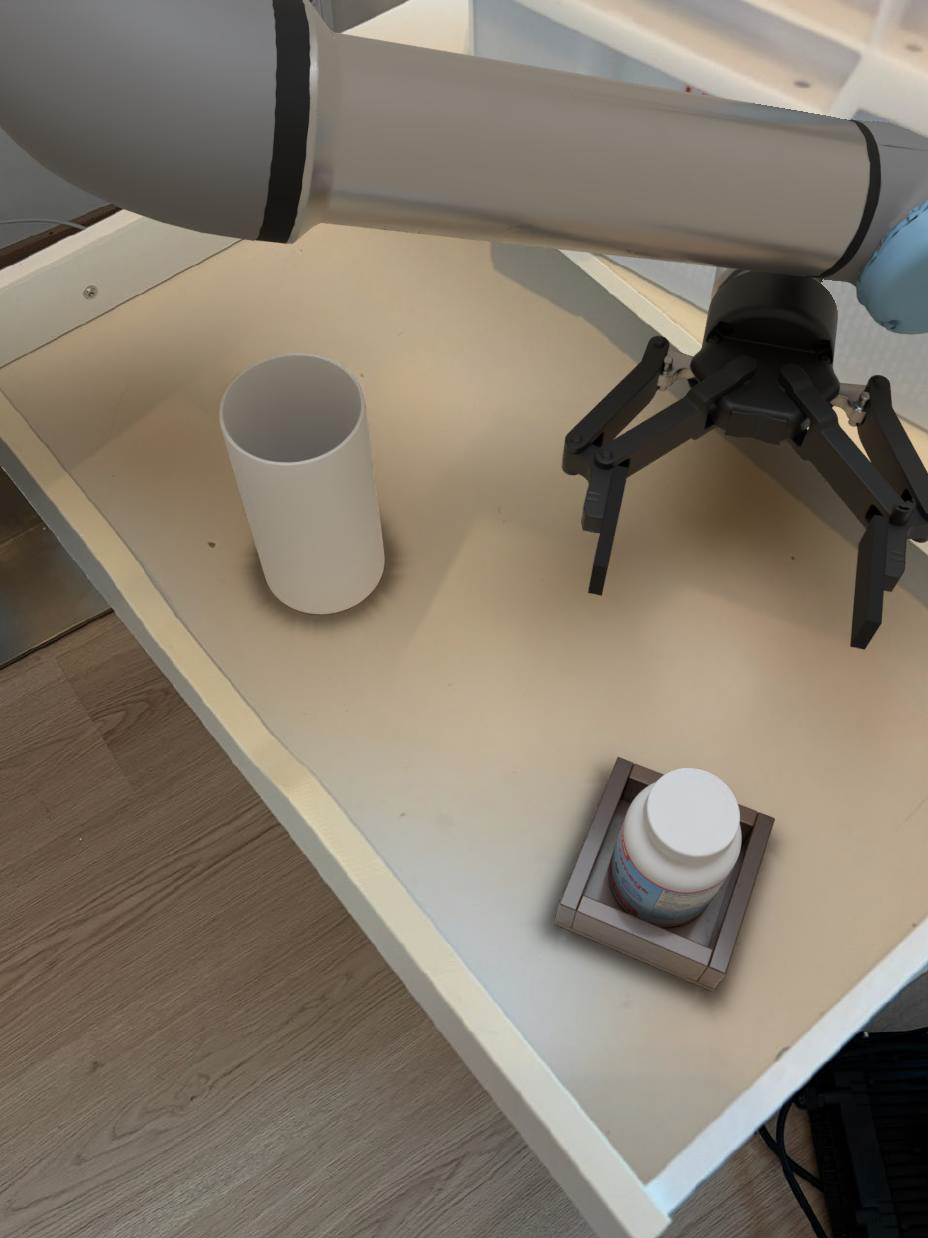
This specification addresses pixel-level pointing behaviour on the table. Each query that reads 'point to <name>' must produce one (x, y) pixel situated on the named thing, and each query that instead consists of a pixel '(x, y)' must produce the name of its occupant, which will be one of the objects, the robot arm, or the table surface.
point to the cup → (306, 479)
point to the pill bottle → (676, 847)
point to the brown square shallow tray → (677, 950)
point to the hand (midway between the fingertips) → (729, 608)
